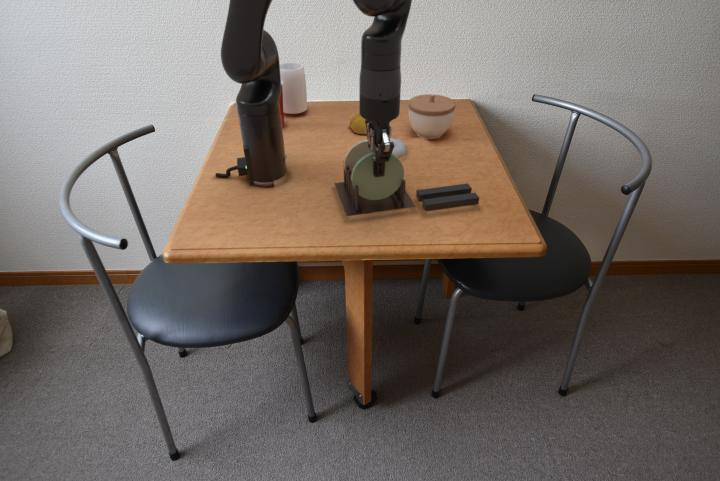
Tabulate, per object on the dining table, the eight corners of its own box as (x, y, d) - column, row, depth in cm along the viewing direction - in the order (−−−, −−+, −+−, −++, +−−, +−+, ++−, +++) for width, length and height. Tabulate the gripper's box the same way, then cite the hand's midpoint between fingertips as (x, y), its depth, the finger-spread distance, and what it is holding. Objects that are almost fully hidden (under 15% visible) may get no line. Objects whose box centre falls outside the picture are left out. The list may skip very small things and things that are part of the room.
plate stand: (424, 216, 100) (426, 204, 99) (415, 201, 105) (416, 190, 103) (477, 209, 102) (479, 197, 101) (466, 194, 107) (467, 183, 106)
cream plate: (345, 188, 107) (343, 143, 101) (344, 186, 108) (342, 141, 101) (392, 182, 109) (393, 138, 102) (390, 180, 110) (392, 136, 103)
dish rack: (346, 222, 99) (345, 191, 95) (334, 188, 110) (332, 159, 106) (415, 212, 102) (417, 182, 97) (396, 180, 113) (397, 152, 108)
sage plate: (352, 203, 99) (351, 155, 93) (351, 200, 100) (350, 153, 93) (402, 197, 101) (405, 150, 95) (401, 194, 102) (404, 147, 95)
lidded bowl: (410, 144, 128) (412, 104, 121) (403, 125, 138) (405, 88, 132) (456, 142, 129) (461, 103, 122) (446, 124, 139) (450, 86, 132)
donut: (365, 163, 120) (404, 166, 118) (364, 151, 118) (404, 153, 116) (372, 146, 128) (409, 148, 126) (372, 134, 126) (409, 136, 124)
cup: (292, 120, 142) (288, 72, 133) (275, 113, 147) (269, 66, 138) (314, 112, 147) (310, 65, 138) (296, 105, 152) (292, 59, 143)
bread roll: (356, 137, 132) (356, 123, 130) (346, 125, 139) (345, 112, 136) (384, 132, 134) (384, 119, 132) (372, 121, 141) (372, 108, 139)
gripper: (352, 79, 91) (352, 160, 102) (368, 105, 81) (367, 193, 91) (389, 76, 92) (386, 157, 103) (411, 102, 82) (405, 188, 92)
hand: (377, 173), depth 97 cm, fingers closed on sage plate, 1 cm apart
